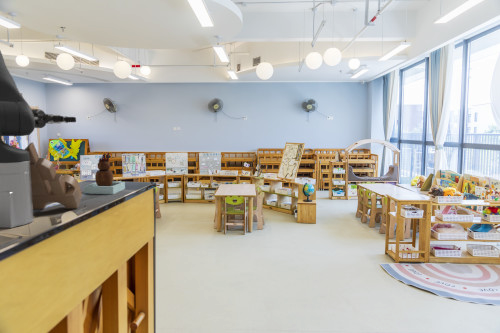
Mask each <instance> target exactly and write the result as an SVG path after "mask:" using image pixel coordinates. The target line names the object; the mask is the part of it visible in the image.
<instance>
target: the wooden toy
mask: <svg viewBox="0 0 500 333" xmlns="http://www.w3.org/2000/svg"><path fill="white" fill-rule="evenodd" d="M24 150H27V151H28V152H29V155H30V170H31V187H32V204H33V210H45V209H46V207H47V205H48V204H51V203H56V204H57V203H58V204H60V205H62V206H64V208H66V209H68V210H69V209H79V206H80V205H81V200H82V197H83V193H82V189H81V187H80V183H79V181H78V180H77V178H75V177H73V176H72V175H69V174H63V173H57V170H56V168H55V164H54V163H53V162H52V161H51V160H48V159H47V158H45V157H40V156H39V153H38V151H37V149H36V147H35V144H34V142H30V143H29V144H28V145H27V146H26V147H25V148H24Z"/></svg>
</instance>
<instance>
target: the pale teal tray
mask: <svg viewBox="0 0 500 333" xmlns="http://www.w3.org/2000/svg"><path fill="white" fill-rule="evenodd" d="M125 189H126V182H125V181H113V183H112V185H111V186H98V185H97V183H96V181H95V182H93V183H89V184H87V185H84V186H83V194H84V193H89V194H90V195H101V194H102V195H115V194H117V193H119V192H121V191H123V190H125ZM89 194H88V195H89Z"/></svg>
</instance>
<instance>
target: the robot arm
mask: <svg viewBox="0 0 500 333" xmlns="http://www.w3.org/2000/svg"><path fill="white" fill-rule="evenodd" d="M76 122H77V118H76V117H75V116H65V115H64V116H63V115H60V114H53V113H52V114H51V113H50V114H49V113H45V111H44V110H43V109H39V108H36V109H34V108H32V107H31V106H30V104H29V103H28V102H27V101H26V99H25V98H24V97H23V96H22V94H21V93H20V91H19V88H18V87H17V84H16V82H15V80H14V77H13V76H12V75H11V72H10V71H9V69H8V66H7V64H6V63H5V59H4V56H3V53H2V51H1V50H0V228H5V229H7V228H8V229H9V228H11V229H12V228H15V227H20V226H24V225H28V224H30V223H32V222H33V221H34V209H33V204H32V187H31V170H30V155H29V152H28V151H27V150H24V149H25V148H24V149H22V148H19V147H17V146H16V147H15V146H14V145H13V146H12V145H11V144H8V143H6V142H5V141H4V140H3V138H2V137H26V136H28V135H31V134H32V133H33V132H34V131H35V129H42V128H44V127H45V126H46V125H52V124H53V125H54V124H61V123H66V124H68V123H76Z"/></svg>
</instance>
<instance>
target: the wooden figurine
mask: <svg viewBox="0 0 500 333" xmlns="http://www.w3.org/2000/svg"><path fill="white" fill-rule="evenodd" d="M97 169H98V170H97V171H96V172H95V177H94V178H95V182H96V183H97V185H98V186H111V185H112V183H113V182H114V173H113V171H112V170H110V169H111V162H110V153H109V151H108V152H107V154H106V153H103V155H101V157H99V160H98V162H97Z"/></svg>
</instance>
